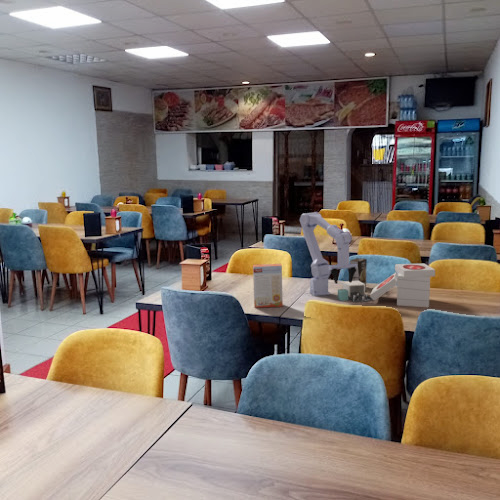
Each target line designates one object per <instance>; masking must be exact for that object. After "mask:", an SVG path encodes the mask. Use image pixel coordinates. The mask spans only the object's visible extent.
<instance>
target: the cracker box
mask: <svg viewBox="0 0 500 500" xmlns="http://www.w3.org/2000/svg"><path fill="white" fill-rule="evenodd" d="M252 275H253V277H252V279H253V282H252V283H253V305H254V308H255V309H257V308H259V309H260V308H261V309H262V308H282V307H283V306H284V305H283V300H284V299H283V266H282V264H281V263H263V264H262V263H261V264H253V265H252Z"/></svg>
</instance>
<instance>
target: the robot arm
mask: <svg viewBox="0 0 500 500" xmlns="http://www.w3.org/2000/svg"><path fill="white" fill-rule="evenodd" d="M299 222H300V225H301V229H302V233H303V236H304V237H303V238H304V239H305V242H306V245H307V248H308V251H309V253H310V256H311V259H312V262H311V264H310V269H311V275H312V277H311V278H310V280H309V294H311V295H313V297H314V296H315V297H319V296H330V295H331V292H329V278H330V276H331V274H332V278H333V281H334V284H338V282H339V281H338V280H339V279H338V277H339V271H338V270H346V269H347V271H348V272H347V273H348V281H349V282H350V283H351V282H352V278H353V276H354V274H355V272H356V269H355V268H357V264H350V243H351V242H352V239H353V238H352V235H351V233H350V232H349V231H344V230H343V229H340V227H338V225H337V224H330V223H329V222H328V221H327V220H326V219H324V217H323V216H322V214H321V213H319V212H318V211H314V212H307V213H306V212H305V213H304V212H303V213H302V214H301V215H300V217H299ZM317 226H319V227H321V228H322V229H324V230H325V231H326V234H327V235H328V236H330V237H331V238H332V239H334V241H335V243H336V247H337V264H332V265H331V264H329V261H328V260H326V259H325V258H324V257H323V254H322V252H321V249H320V246H319V244H318V240H317V237H316V235H315V232H314V230H315V229H316V227H317Z"/></svg>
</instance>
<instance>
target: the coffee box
mask: <svg viewBox="0 0 500 500" xmlns="http://www.w3.org/2000/svg"><path fill="white" fill-rule="evenodd" d="M367 263H368V262H367V258H358V257H357V258H356V257H355V258H354V259H349V264H357V268H355V269H356V272H355V274H354V276H353V278H352V281H360V282H362V283H364V284H365V288H367Z"/></svg>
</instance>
